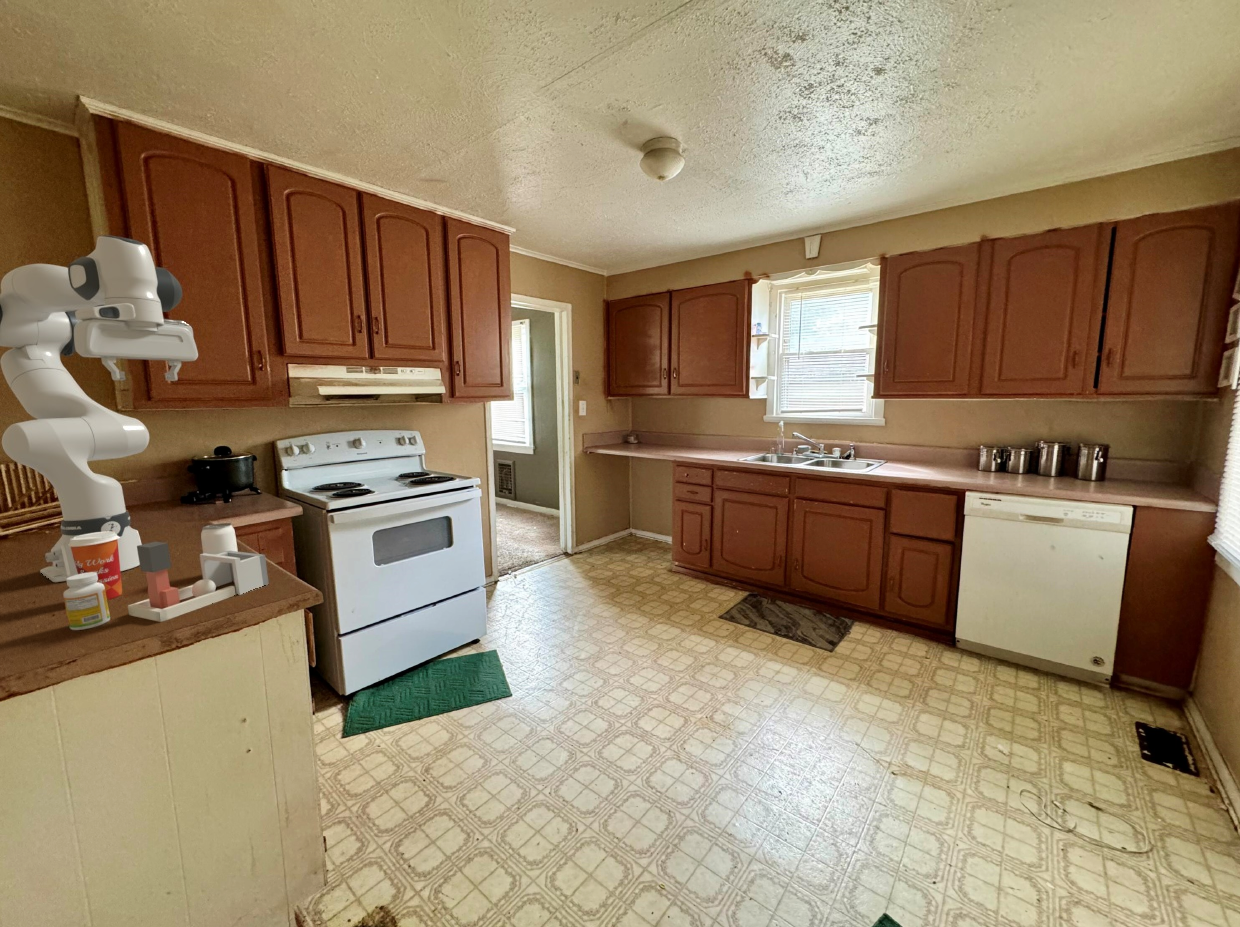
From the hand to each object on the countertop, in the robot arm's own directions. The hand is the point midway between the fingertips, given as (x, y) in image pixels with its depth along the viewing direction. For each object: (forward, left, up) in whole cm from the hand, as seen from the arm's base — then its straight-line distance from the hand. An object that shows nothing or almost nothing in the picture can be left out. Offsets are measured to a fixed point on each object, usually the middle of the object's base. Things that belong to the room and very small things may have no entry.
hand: (146, 380), depth 110 cm
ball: (+16, -4, -45) cm, 48 cm away
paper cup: (-7, -10, -47) cm, 48 cm away
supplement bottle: (+9, -19, -47) cm, 51 cm away
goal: (+16, +2, -47) cm, 49 cm away
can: (+3, +8, -47) cm, 48 cm away
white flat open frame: (+16, -8, -47) cm, 50 cm away
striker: (+16, -11, -47) cm, 51 cm away
